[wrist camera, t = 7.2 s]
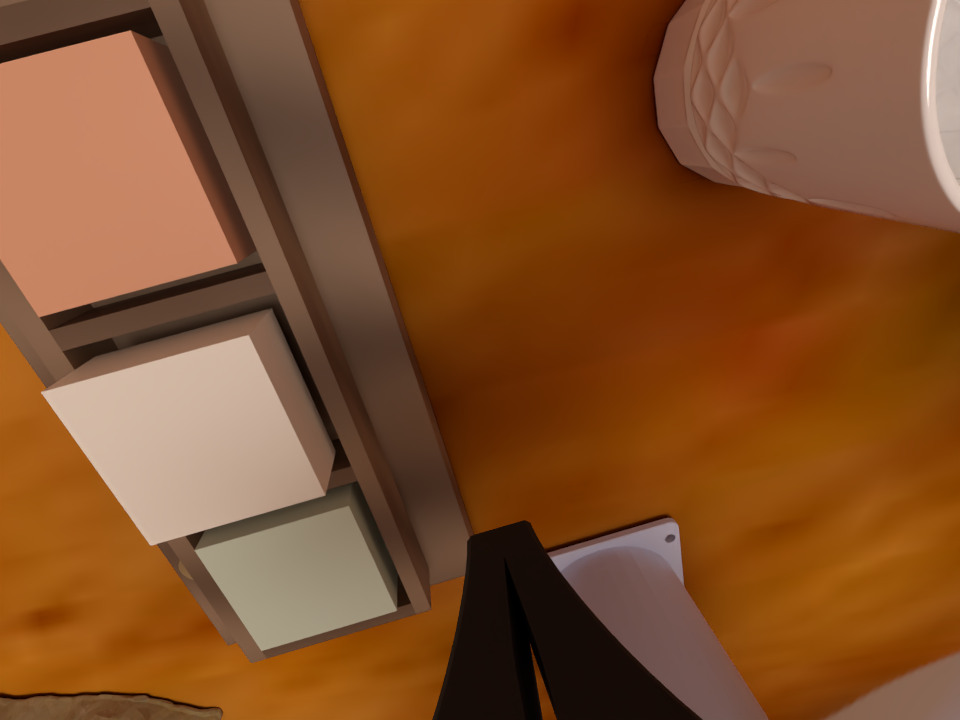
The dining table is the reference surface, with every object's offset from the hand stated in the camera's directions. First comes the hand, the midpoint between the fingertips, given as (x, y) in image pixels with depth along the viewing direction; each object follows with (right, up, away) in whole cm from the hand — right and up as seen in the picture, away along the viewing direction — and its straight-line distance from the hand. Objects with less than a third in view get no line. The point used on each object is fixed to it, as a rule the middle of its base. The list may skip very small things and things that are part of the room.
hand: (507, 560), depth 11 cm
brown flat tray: (-9, +4, +7) cm, 12 cm away
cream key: (-8, +3, +4) cm, 10 cm away
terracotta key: (-10, +9, +2) cm, 14 cm away
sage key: (-7, -2, +8) cm, 11 cm away
